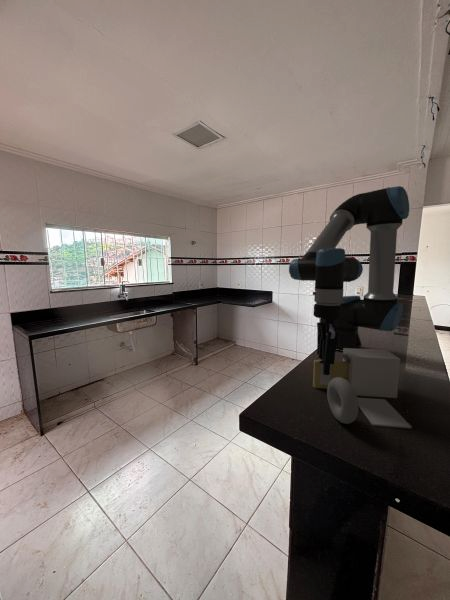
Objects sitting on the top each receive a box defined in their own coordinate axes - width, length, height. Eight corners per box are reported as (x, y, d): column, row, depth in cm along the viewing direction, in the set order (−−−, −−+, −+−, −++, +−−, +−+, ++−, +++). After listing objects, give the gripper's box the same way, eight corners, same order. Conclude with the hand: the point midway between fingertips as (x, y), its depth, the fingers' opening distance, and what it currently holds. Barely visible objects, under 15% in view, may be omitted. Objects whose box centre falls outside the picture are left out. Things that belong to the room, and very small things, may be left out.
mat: (353, 398, 68) (353, 397, 68) (384, 400, 67) (385, 399, 67) (372, 425, 57) (372, 423, 57) (411, 428, 56) (411, 426, 56)
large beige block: (338, 382, 78) (340, 347, 77) (382, 384, 77) (385, 349, 75) (347, 394, 71) (349, 356, 69) (397, 398, 69) (400, 359, 68)
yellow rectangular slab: (312, 385, 76) (313, 359, 75) (351, 387, 75) (352, 361, 74) (314, 387, 75) (315, 361, 74) (353, 390, 73) (355, 363, 72)
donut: (323, 408, 64) (325, 370, 62) (336, 408, 64) (338, 370, 63) (344, 434, 54) (347, 389, 52) (360, 433, 54) (363, 389, 53)
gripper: (309, 300, 80) (306, 371, 83) (320, 307, 65) (316, 393, 68) (333, 300, 79) (330, 373, 82) (351, 307, 64) (345, 395, 67)
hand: (323, 382), depth 75 cm, fingers closed on yellow rectangular slab, 2 cm apart
